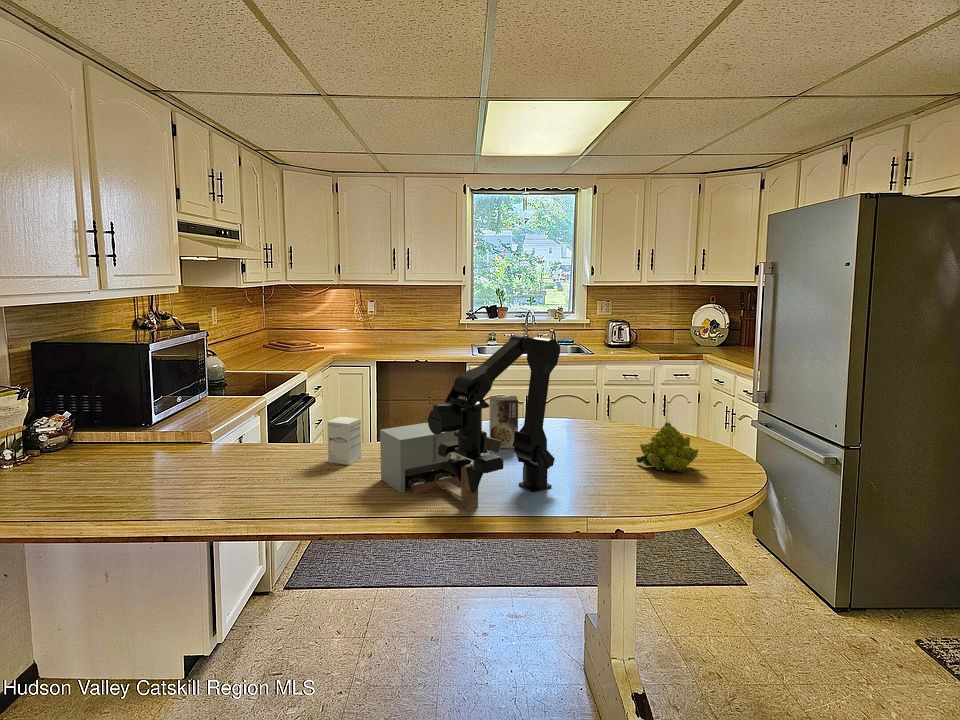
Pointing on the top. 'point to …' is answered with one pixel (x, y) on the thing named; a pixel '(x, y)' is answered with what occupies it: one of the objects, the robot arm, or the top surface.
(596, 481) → the top surface
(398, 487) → the cabinet
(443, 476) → the disc right
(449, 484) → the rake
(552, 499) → the top surface
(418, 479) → the disc left
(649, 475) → the top surface
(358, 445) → the supplement box
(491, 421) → the coffee box
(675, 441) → the vegetable
